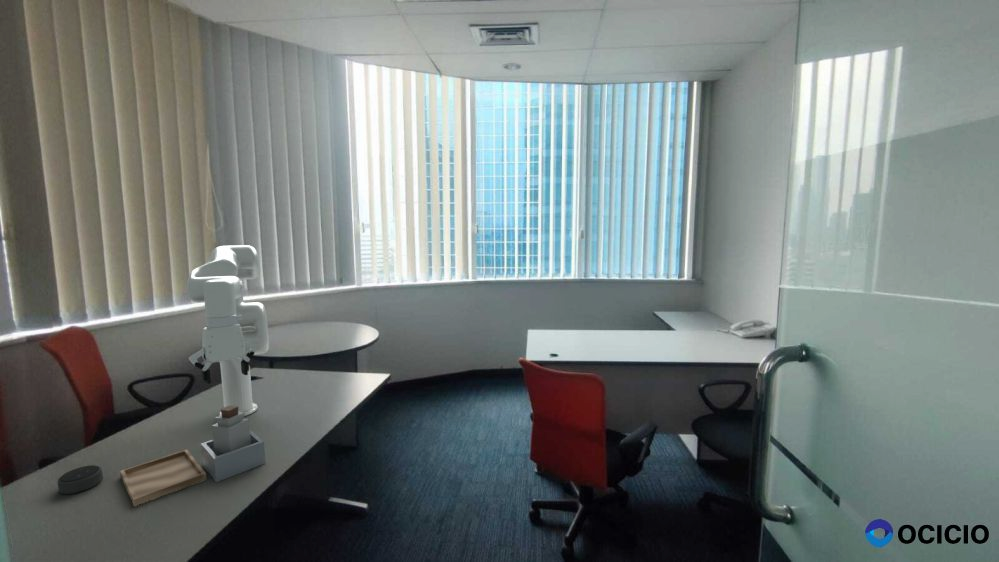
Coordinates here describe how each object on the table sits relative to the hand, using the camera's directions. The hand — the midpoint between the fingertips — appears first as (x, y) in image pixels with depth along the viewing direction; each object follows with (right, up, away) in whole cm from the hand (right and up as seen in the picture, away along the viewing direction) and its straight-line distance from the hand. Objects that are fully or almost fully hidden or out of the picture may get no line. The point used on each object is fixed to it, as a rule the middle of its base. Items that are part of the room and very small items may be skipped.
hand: (226, 378), depth 127 cm
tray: (-16, -28, -4) cm, 32 cm away
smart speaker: (-36, -29, -7) cm, 47 cm away
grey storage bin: (0, -27, +4) cm, 27 cm away
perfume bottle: (0, -27, +4) cm, 28 cm away
